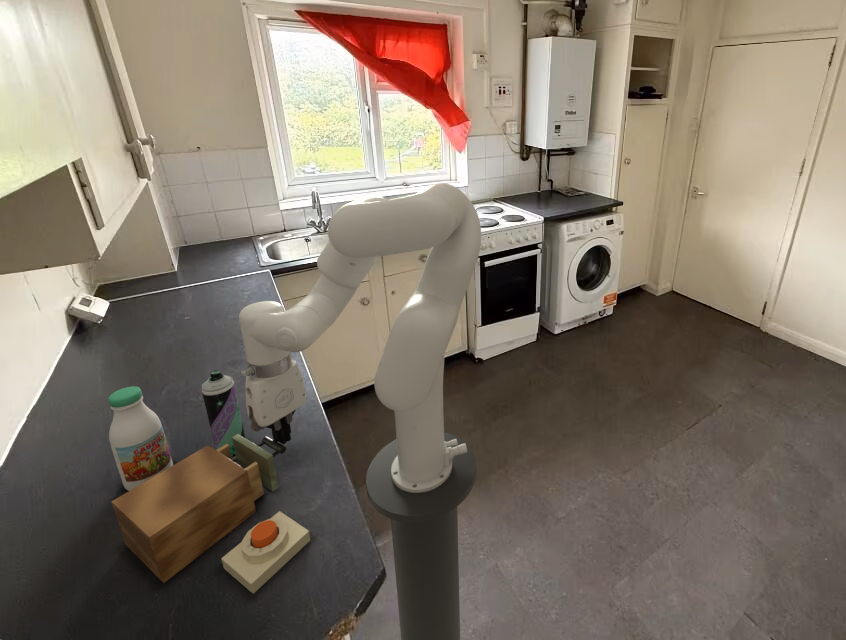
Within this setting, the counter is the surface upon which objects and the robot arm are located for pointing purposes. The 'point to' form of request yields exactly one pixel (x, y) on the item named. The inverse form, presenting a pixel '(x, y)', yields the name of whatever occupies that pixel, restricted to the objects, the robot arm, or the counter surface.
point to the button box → (265, 553)
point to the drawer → (256, 462)
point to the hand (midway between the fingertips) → (283, 439)
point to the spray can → (222, 410)
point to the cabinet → (184, 510)
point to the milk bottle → (137, 438)
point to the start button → (264, 534)
